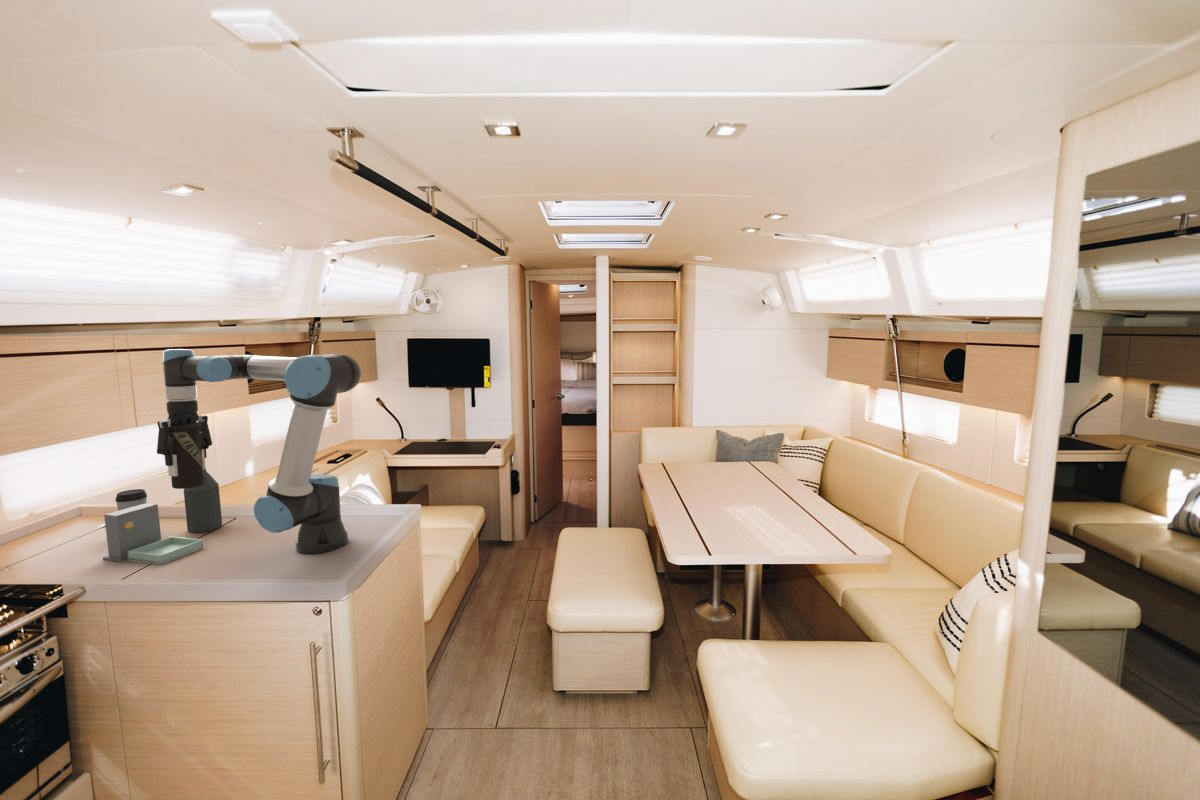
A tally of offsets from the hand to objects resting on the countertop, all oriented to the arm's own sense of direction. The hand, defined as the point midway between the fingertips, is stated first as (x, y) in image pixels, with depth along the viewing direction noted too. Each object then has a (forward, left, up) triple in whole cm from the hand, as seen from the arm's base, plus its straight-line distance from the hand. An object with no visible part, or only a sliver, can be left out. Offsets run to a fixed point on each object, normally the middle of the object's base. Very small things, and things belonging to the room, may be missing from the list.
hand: (187, 472), depth 167 cm
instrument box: (+19, +4, -26) cm, 33 cm away
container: (0, 0, -4) cm, 4 cm away
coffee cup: (+37, -8, -26) cm, 46 cm away
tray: (+8, +3, -26) cm, 27 cm away
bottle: (+18, -18, -26) cm, 36 cm away
